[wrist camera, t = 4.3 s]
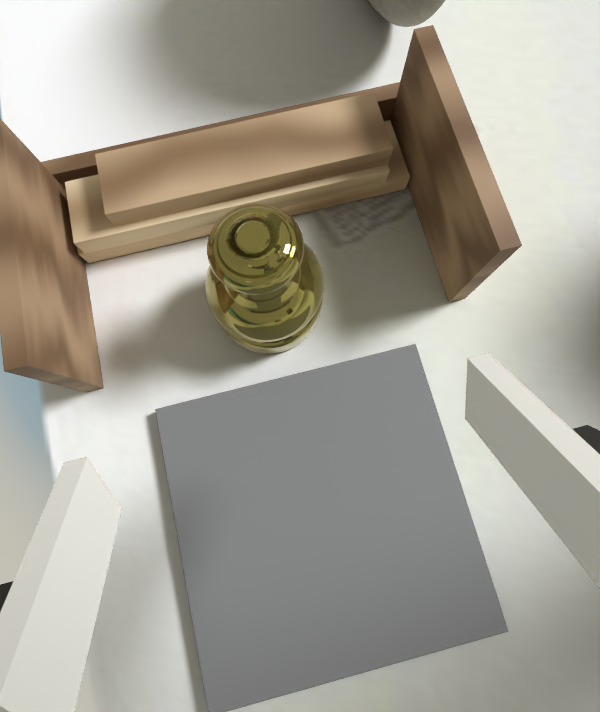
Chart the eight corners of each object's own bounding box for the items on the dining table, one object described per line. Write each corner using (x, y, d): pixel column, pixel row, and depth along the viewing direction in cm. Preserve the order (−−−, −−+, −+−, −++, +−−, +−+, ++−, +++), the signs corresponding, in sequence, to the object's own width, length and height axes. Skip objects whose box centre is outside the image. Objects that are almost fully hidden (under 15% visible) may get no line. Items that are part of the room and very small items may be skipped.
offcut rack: (464, 298, 30) (521, 245, 22) (86, 392, 29) (4, 371, 21) (398, 112, 33) (426, 9, 25) (57, 189, 32) (-22, 106, 24)
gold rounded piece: (198, 296, 30) (147, 223, 20) (281, 239, 31) (270, 143, 21) (257, 376, 29) (233, 339, 19) (342, 314, 30) (360, 248, 20)
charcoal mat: (502, 625, 25) (508, 631, 24) (212, 708, 24) (209, 716, 24) (412, 346, 29) (415, 344, 28) (159, 410, 28) (155, 409, 27)
